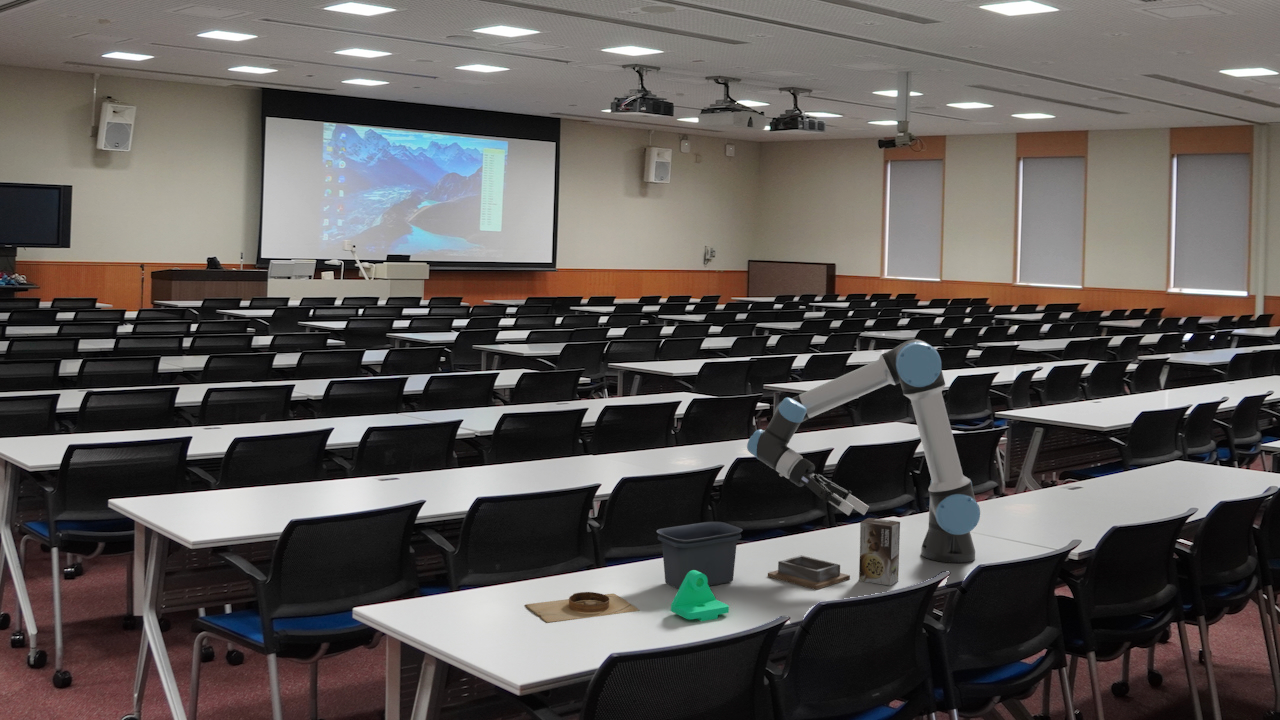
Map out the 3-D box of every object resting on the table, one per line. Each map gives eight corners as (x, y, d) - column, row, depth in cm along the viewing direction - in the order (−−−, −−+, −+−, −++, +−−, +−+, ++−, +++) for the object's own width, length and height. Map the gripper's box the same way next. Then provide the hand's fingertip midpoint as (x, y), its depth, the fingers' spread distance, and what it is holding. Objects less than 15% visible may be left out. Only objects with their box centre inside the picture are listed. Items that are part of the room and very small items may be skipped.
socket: (801, 566, 322) (802, 552, 321) (849, 578, 310) (850, 564, 310) (767, 576, 311) (768, 561, 311) (815, 589, 300) (816, 574, 299)
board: (615, 595, 293) (615, 583, 293) (643, 612, 280) (643, 599, 279) (523, 608, 282) (523, 595, 281) (547, 626, 268) (547, 612, 268)
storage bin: (679, 595, 292) (680, 540, 291) (646, 580, 305) (647, 527, 304) (746, 584, 304) (748, 530, 302) (711, 570, 317) (712, 518, 315)
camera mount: (688, 624, 270) (689, 581, 269) (670, 615, 277) (671, 573, 276) (730, 617, 276) (731, 574, 275) (712, 608, 283) (713, 567, 282)
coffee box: (899, 580, 309) (901, 521, 308) (890, 586, 304) (892, 526, 303) (866, 575, 314) (868, 516, 313) (857, 580, 309) (859, 521, 307)
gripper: (804, 480, 335) (865, 522, 325) (773, 479, 313) (837, 523, 303) (817, 458, 333) (879, 499, 324) (787, 455, 312) (852, 499, 302)
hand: (859, 511), depth 313 cm, fingers open, 13 cm apart
